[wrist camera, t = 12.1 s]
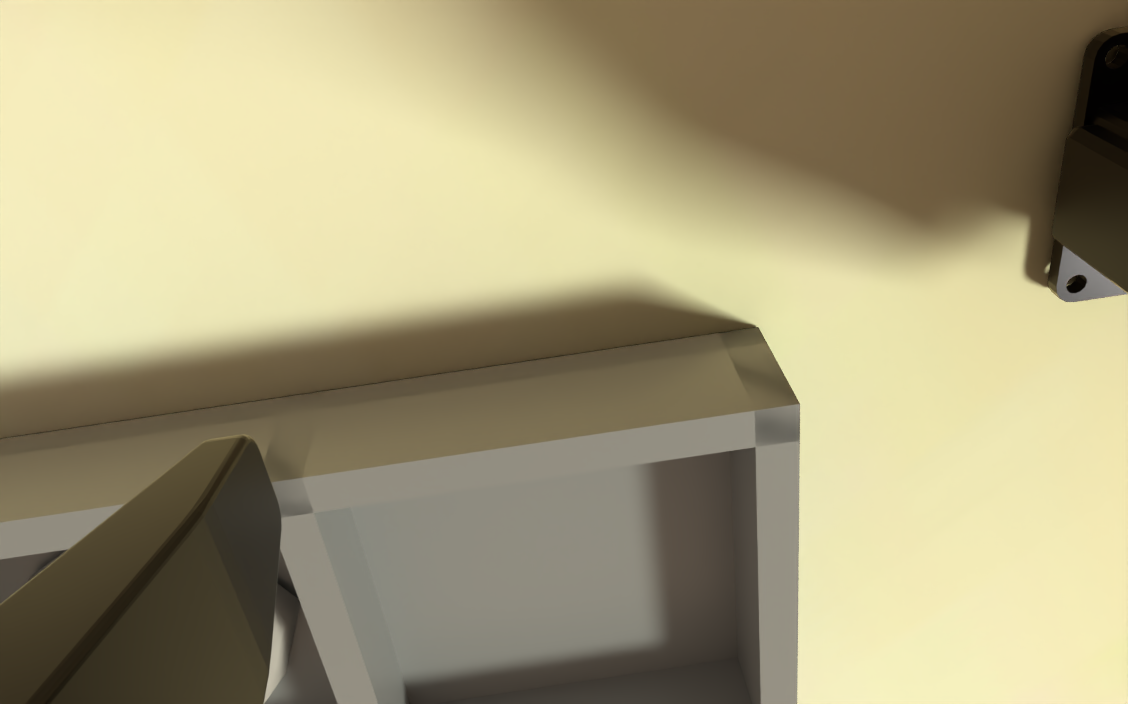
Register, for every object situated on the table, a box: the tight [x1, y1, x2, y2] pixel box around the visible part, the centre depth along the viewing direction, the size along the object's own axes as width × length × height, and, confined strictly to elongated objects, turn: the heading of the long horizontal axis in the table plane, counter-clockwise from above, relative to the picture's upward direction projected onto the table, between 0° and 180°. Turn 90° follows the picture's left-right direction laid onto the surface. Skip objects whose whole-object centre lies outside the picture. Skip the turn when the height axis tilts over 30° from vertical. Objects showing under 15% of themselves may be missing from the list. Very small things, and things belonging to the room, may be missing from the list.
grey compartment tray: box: [0, 327, 800, 704], centre depth 25 cm, size 23×12×4 cm, turn 97°
